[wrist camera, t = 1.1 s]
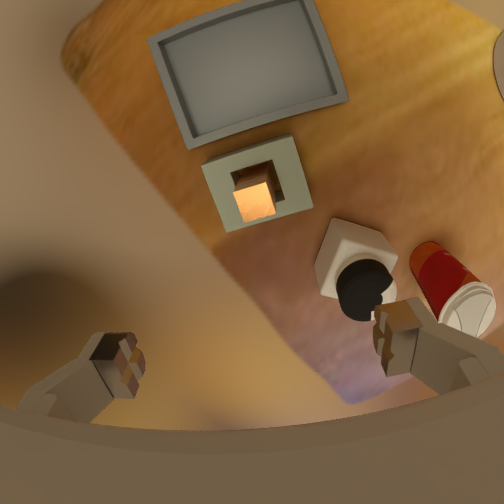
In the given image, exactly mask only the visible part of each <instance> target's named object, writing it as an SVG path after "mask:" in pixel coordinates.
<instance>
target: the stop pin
mask: <svg viewBox="0 0 504 504" xmlns="http://www.w3.org/2000/svg"><path fill="white" fill-rule="evenodd" d="M233 194H234V197H235V199H236V202H237V205H238V208H239V210H240V213H241V216H242V218H243V221H244V223H246V222H249V221H252V220H256V219H259V218H263V217H266V216H270V215H273V214H276V185H275V182H274V179H273V176H272V173H271V170H270V167H269V164H268V162H266V163H263V164H259V165H256V166H253V167H250V168H247V169H243V171H242V173H241V175H240V178H239V180H238V182H237V184H236V187H235V189H234V191H233Z"/></svg>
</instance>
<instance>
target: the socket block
mask: <svg viewBox="0 0 504 504" xmlns="http://www.w3.org/2000/svg"><path fill="white" fill-rule="evenodd" d="M271 159H272V160H273V163H274V166H275V169H276V172H277V176H278V179H279V182H280V185H281V188H282V191H279V192H276V214H273V215H270V216H266V217H263V218H259V219H256V220H252V221H249V222H246V223H244V221H243V218H242V216H241V213H240V210H239V208H238V205H237V202H236V199H235V197H234V194H233V191H234V189H235V187H236V184H237V182H238V180H239V177H238V174H237V171H236V170H239V169H242V168H246V167H249V166H252V165H255V164H258V163H261V162H265V161H268V160H271ZM201 168H202V171H203V173H204V176H205V178H206V181H207V184H208V186H209V189H210V191H211V194H212V197H213V199H214V202H215V204H216V207H217V209H218V212H219V214H220V217H221V220H222V222H223V225H224V227H225V230H226V232H230V231H234V230H237V229H241V228H244V227H247V226H251V225H254V224H258V223H261V222H265V221H268V220H271V219H275V218H278V217H282V216H285V215H289V214H292V213H296V212H299V211H303V210H307V209H310V208H314V206H313V203H312V199H311V196H310V192H309V189H308V185H307V182H306V179H305V175H304V172H303V169H302V165H301V162H300V159H299V156H298V152H297V149H296V146H295V143H294V140H293V137H292V135H291V133H288V134H285V135H282V136H278V137H275V138H271V139H268V140H265V141H262V142H259V143H255V144H252V145H249V146H246V147H243V148H240V149H237V150H234V151H231V152H228V153H225V154H222V155H219V156H216V157H213V158H211V159H208V160H207V161H206V162H205V163H203V164H202V165H201Z"/></svg>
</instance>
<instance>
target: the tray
mask: <svg viewBox="0 0 504 504" xmlns="http://www.w3.org/2000/svg"><path fill="white" fill-rule="evenodd" d="M147 42H148V45H149V47H150V50H151V53H152V56H153V59H154V61H155V64H156V67H157V69H158V72H159V75H160V78H161V80H162V83H163V86H164V89H165V91H166V94H167V97H168V99H169V102H170V105H171V107H172V110H173V113H174V115H175V118H176V121H177V123H178V126H179V129H180V131H181V134H182V136H183V139H184V142H185V144H186V147H187V150H190V149H193V148H196V147H198V146H201V145H204V144H206V143H209V142H212V141H215V140H218V139H220V138H223V137H226V136H229V135H232V134H235V133H238V132H241V131H244V130H247V129H250V128H253V127H256V126H260V125H263V124H266V123H269V122H272V121H276V120H279V119H283V118H286V117H289V116H293V115H297V114H300V113H304V112H308V111H311V110H315V109H319V108H323V107H327V106H331V105H335V104H339V103H343V102H347V101H349V98H348V94H347V91H346V88H345V85H344V82H343V79H342V75H341V72H340V69H339V67H338V64H337V61H336V58H335V55H334V52H333V49H332V47H331V44H330V41H329V39H328V36H327V33H326V31H325V28H324V26H323V23H322V21H321V18H320V16H319V13H318V11H317V8H316V6H315V4H314V1H313V0H244V1H241V2H237V3H234V4H231V5H228V6H225V7H222V8H219V9H216V10H214V11H211V12H208V13H205V14H203V15H200V16H198V17H195V18H192V19H190V20H188V21H185V22H183V23H180V24H178V25H176V26H173V27H171V28H169V29H166V30H164V31H162V32H160V33H158V34H156V35H153V36H151V37H149V38H147Z"/></svg>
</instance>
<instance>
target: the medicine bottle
mask: <svg viewBox="0 0 504 504" xmlns="http://www.w3.org/2000/svg"><path fill="white" fill-rule="evenodd" d="M397 260H398V255H397V253H396V252H395V250H394V249H393V248H392V246H391V245H390V243H389V242H388V241H387V239H386V238H385V237H384V235H383V234H382V233H381V232H380V231H377V230H374V229H370V228H367V227H364V226H361V225H358V224H354V223H351V222H348V221H345V220H341V219H338V218H335V217H333V218H332V219H331V221H330V224H329V226H328V229H327V232H326V235H325V237H324V240H323V243H322V245H321V248H320V251H319V253H318V256H317V258H316V261H315V264H314V267H315V272H316V276H317V281H318V286H319V290H320V294H321V295H324V296H328V297H332V298H336V299H339V303H340V306H341V309H342V311H343V312H344V314H345V315H346V316H348V317H349V318H351V319H353V320H356V321H371V320H375V318H374V309H375V306H376V305H381V304H386V303H392V302H395V300H396V296H397V287H396V283H395V281H394V280H393V278H392V276H391V272H392V270H393V268H394V266H395V264H396V262H397Z"/></svg>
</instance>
